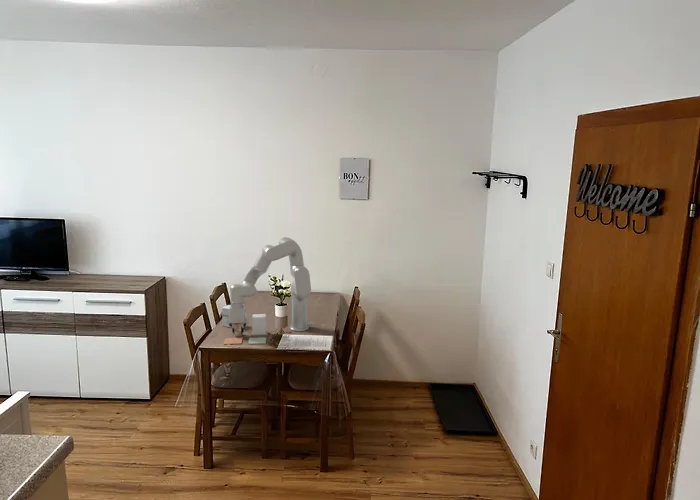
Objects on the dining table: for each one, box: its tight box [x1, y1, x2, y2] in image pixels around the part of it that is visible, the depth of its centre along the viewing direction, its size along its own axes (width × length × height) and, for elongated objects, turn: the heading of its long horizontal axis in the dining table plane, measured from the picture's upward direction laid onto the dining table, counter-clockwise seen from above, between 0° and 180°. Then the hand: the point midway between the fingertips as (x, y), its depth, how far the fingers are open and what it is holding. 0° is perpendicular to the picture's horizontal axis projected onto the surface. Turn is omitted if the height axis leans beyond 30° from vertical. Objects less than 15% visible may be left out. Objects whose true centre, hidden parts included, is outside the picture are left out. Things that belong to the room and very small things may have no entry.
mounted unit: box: [250, 313, 269, 338], centre depth 308 cm, size 10×8×12 cm
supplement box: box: [221, 304, 232, 329], centre depth 323 cm, size 7×7×13 cm
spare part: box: [234, 323, 243, 338], centre depth 306 cm, size 4×4×8 cm
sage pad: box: [248, 337, 267, 345], centre depth 298 cm, size 10×9×1 cm
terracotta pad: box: [223, 337, 243, 346], centre depth 297 cm, size 10×9×1 cm
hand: (238, 333), depth 307 cm, fingers closed on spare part, 4 cm apart
